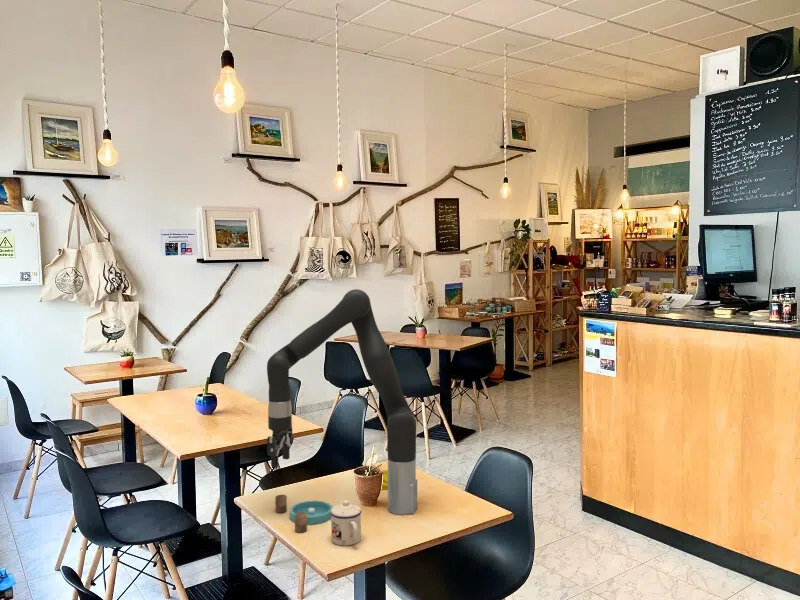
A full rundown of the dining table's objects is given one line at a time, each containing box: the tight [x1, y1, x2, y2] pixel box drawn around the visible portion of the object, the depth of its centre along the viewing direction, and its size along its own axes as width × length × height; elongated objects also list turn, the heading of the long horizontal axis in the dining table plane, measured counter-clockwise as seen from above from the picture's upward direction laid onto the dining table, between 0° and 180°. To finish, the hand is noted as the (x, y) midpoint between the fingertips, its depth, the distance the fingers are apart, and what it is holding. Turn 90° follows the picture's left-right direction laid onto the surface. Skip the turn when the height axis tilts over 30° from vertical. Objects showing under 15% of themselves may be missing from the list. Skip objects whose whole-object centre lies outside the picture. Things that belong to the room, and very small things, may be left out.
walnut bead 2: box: [294, 512, 308, 534], centre depth 196 cm, size 4×4×5 cm
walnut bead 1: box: [274, 494, 288, 515], centre depth 210 cm, size 4×4×5 cm
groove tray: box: [289, 500, 334, 526], centre depth 207 cm, size 14×14×2 cm
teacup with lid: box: [330, 499, 363, 547], centre depth 188 cm, size 12×9×12 cm
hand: (280, 462), depth 210 cm, fingers open, 8 cm apart
